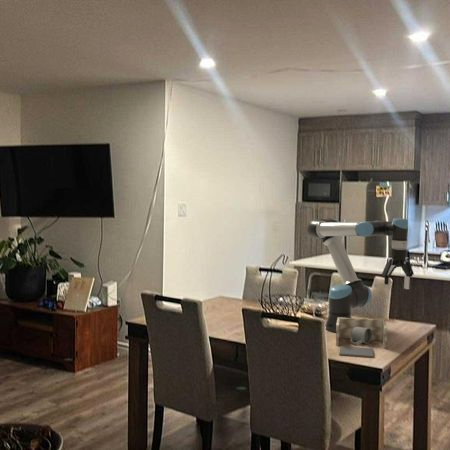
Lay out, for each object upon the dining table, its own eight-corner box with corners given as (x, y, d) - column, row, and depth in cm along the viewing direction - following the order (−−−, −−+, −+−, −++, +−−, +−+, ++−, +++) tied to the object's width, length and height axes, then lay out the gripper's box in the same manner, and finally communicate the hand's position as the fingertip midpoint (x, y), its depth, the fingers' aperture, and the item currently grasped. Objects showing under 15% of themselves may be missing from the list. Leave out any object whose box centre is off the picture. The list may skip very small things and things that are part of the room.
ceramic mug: (357, 339, 285) (358, 324, 284) (372, 342, 279) (372, 327, 279) (346, 343, 277) (346, 328, 277) (361, 346, 272) (361, 331, 271)
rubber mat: (339, 355, 256) (339, 353, 256) (340, 347, 269) (340, 346, 269) (373, 357, 253) (373, 356, 253) (372, 350, 266) (372, 348, 266)
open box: (335, 345, 273) (336, 324, 272) (337, 336, 290) (337, 317, 289) (386, 349, 268) (386, 328, 267) (384, 339, 284) (385, 320, 284)
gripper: (386, 250, 280) (384, 292, 282) (422, 248, 292) (419, 289, 294) (375, 248, 287) (373, 290, 288) (410, 247, 299) (408, 286, 300)
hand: (397, 289), depth 291 cm, fingers open, 13 cm apart
